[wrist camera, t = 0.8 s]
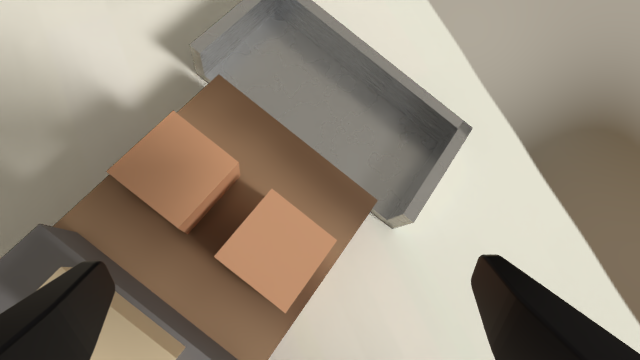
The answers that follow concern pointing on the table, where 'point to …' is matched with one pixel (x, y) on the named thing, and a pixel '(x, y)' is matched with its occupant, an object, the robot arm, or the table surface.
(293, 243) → the tile
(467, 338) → the table surface
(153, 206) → the tile
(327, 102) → the tray
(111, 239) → the board
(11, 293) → the grey and beige block
